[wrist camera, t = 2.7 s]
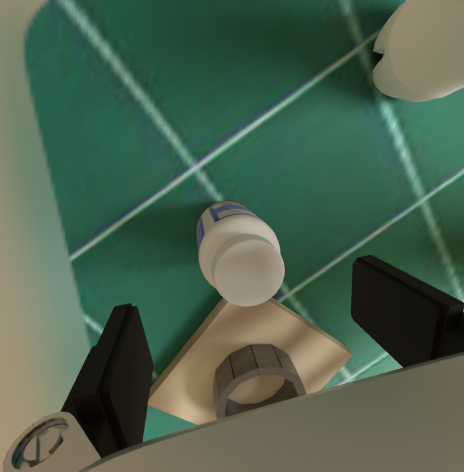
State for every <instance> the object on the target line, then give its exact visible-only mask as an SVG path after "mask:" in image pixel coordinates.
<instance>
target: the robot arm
mask: <svg viewBox="0 0 464 472" xmlns="http://www.w3.org/2000/svg"><path fill="white" fill-rule="evenodd" d="M463 310H464V302H462V301H460V300H458V299H456V298H454V297H452V296H450V295H448V294H446V293H444V292H442V291H440V290H438V289H437V288H435V287H433V286H431V285H429V284H427V283H425V282H423V281H421V280H419V279H417V278H415V277H413V276H411V275H409V274H407V273H405V272H403V271H401V270H400V269H398V268H396V267H394V266H392V265H390V264H388V263H386V262H384V261H382V260H380V259H378V258H376V257H374V256H372V255H368V256H363V257H358V258H357V259H356V260H355V262H354V263H353V271H352V297H351V316H352V318H353V320H354V321H355V322H356V323H357V324H358V325H359V326H360V327H361V328H362V329H363V330H364V331H365V332H366V333H368V334H369V335H370V336H371V337H372V338H373V339H374V340H375V341H376V342H377V343H378V344H379V345H380V346H381V347H382V348H383V349H384V350H385V351H386V352H388V353H389V354H390V355H391V356H392V357H393V358H394V359H395V360H396V361H397V362H398V363H399V364H400V365H401V366H402V367H403V368H401V369H397V370H393V371H390V372H386V373H382V374H378V375H375V376H371V377H367V378H364V379H360V380H357V381H353V382H349V383H346V384H342V385H338V386H335V387H331V388H328V389H324V390H320V391H317V392H313V393H310V394H306V395H302V396H299V397H295V398H292V399H288V400H284V401H281V402H277V403H274V404H270V405H267V406H263V407H260V408H256V409H253V410H249V411H246V412H242V413H238V414H235V415H231V416H228V417H224V418H221V419H217V420H214V421H210V422H207V423H204V424H200V425H197V426H194V427H190V428H187V429H184V430H180V431H177V432H174V433H170V434H167V435H164V436H160V437H157V438H154V439H151V440H148V441H145V442H142V441H143V434H144V427H145V420H146V413H147V406H148V399H149V392H150V385H151V378H152V371H153V362H152V357H151V354H150V350H149V346H148V343H147V339H146V336H145V332H144V329H143V325H142V322H141V318H140V315H139V311H138V308H137V306H133V307H132V305H131V304H130V303H129V304H124V305H119V306H115V307H114V309H113V311H112V313H111V315H110V317H109V319H108V322H107V324H106V326H105V328H104V330H103V332H102V334H101V337H100V339H99V341H98V343H97V345H96V346H94V347H92V348H91V350H90V352H89V354H88V356H87V358H86V360H85V362H84V364H83V366H82V368H81V370H80V372H79V375H78V376H77V379H76V381H75V383H74V385H73V387H72V389H71V391H70V393H69V395H68V397H67V399H66V401H65V403H64V406H63V408H62V410H61V412H57V413H53V414H50V415H48V416H46V417H43V418H42V419H40V420H38V421H37V422H35V423H34V424H32V425H31V426H30V427H29V428H27V429H26V430H25V431H24V432H23V433H22V434H21V435H20V436H19V437H18V438H17V439H16V440H15V441H14V443H13V444H12V446H11V447H10V449H9V450H8V452H7V454H6V456H5V459H4V461H3V472H464V312H463Z"/></svg>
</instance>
